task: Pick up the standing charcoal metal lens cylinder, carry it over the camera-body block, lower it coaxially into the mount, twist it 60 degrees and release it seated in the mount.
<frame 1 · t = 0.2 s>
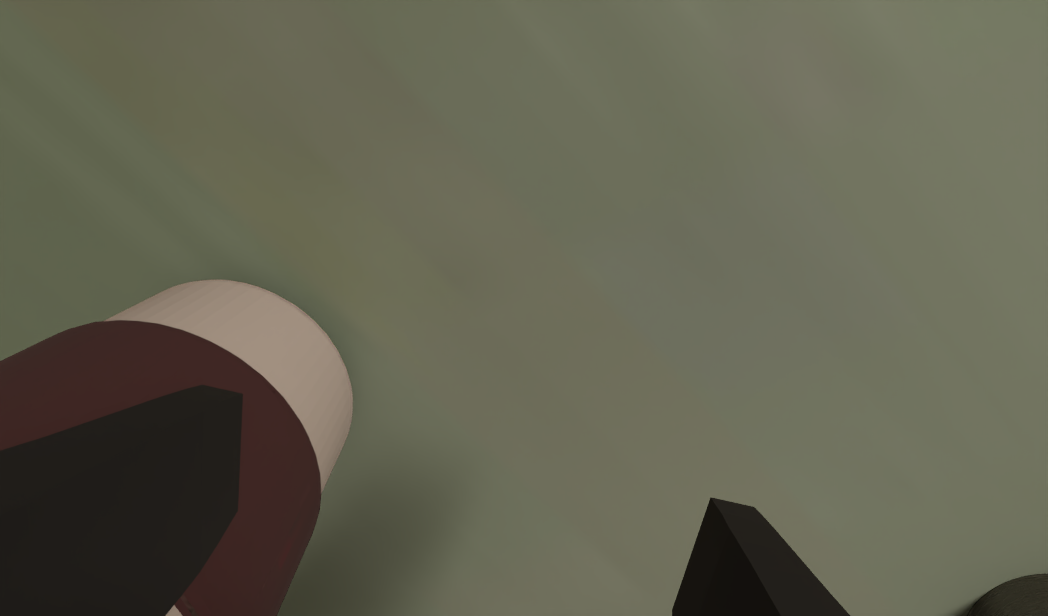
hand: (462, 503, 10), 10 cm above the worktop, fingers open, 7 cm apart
coffee cup: (248, 378, 21), on the worktop, touching gripper
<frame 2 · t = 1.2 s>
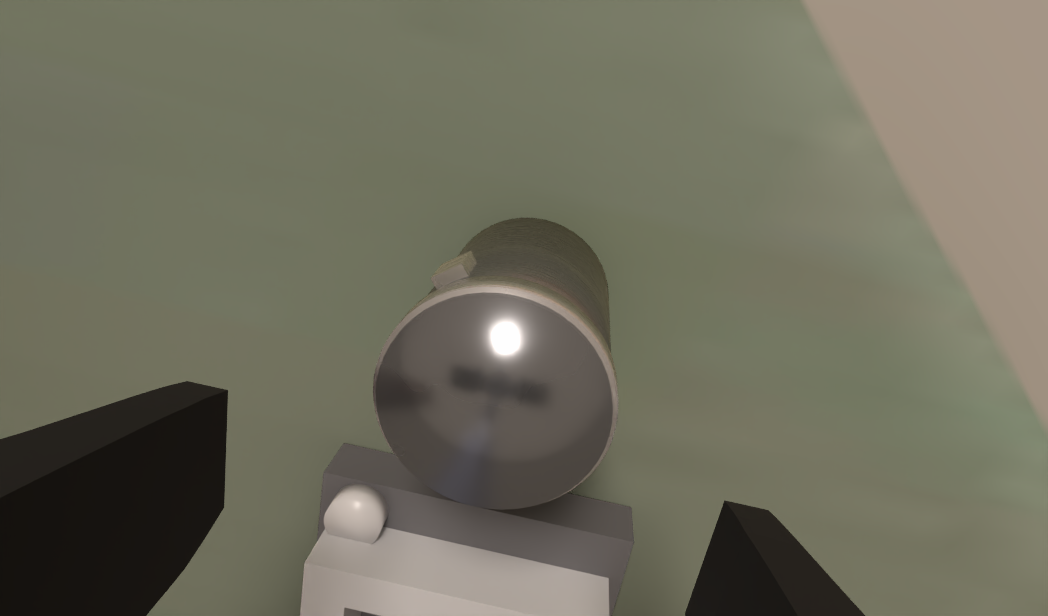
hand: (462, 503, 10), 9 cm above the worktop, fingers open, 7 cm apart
lens: (527, 296, 18), on the worktop
camera body: (459, 612, 22), on the worktop
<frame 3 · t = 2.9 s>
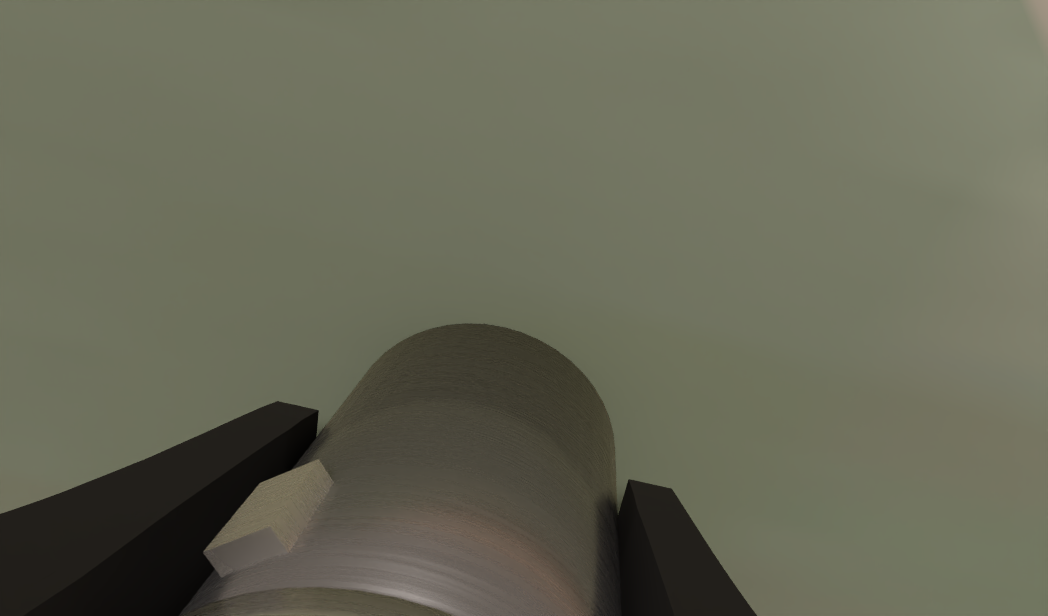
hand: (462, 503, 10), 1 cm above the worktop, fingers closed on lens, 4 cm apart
lens: (478, 449, 11), on the worktop, touching gripper
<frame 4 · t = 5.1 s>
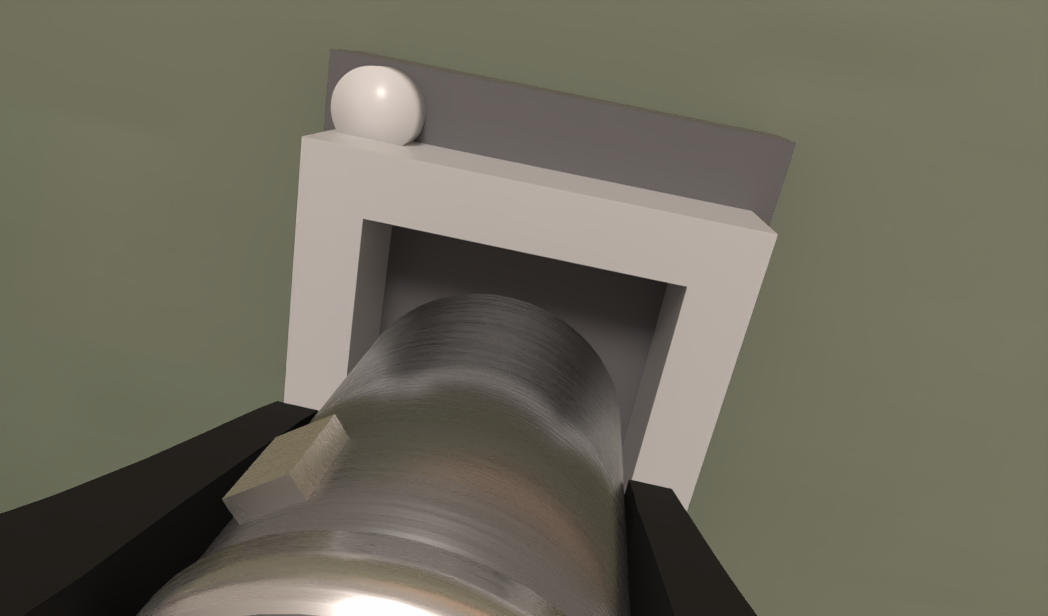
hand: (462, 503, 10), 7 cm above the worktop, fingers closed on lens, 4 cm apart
lens: (485, 420, 11), point 5 cm above the worktop, touching gripper
camera body: (517, 328, 16), on the worktop
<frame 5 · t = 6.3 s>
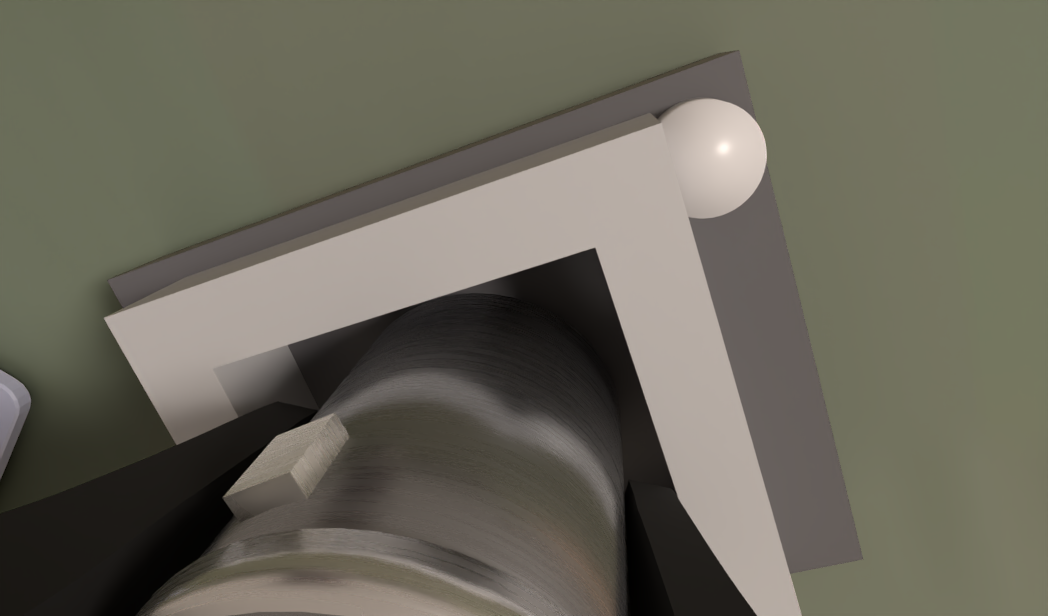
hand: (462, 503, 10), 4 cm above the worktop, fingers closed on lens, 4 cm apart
lens: (485, 419, 11), point 2 cm above the worktop, touching gripper
camera body: (501, 381, 13), on the worktop
when the fingers open (4 cm above the worktop, at t = 7.2 s): lens stays where it is, resting on camera body.
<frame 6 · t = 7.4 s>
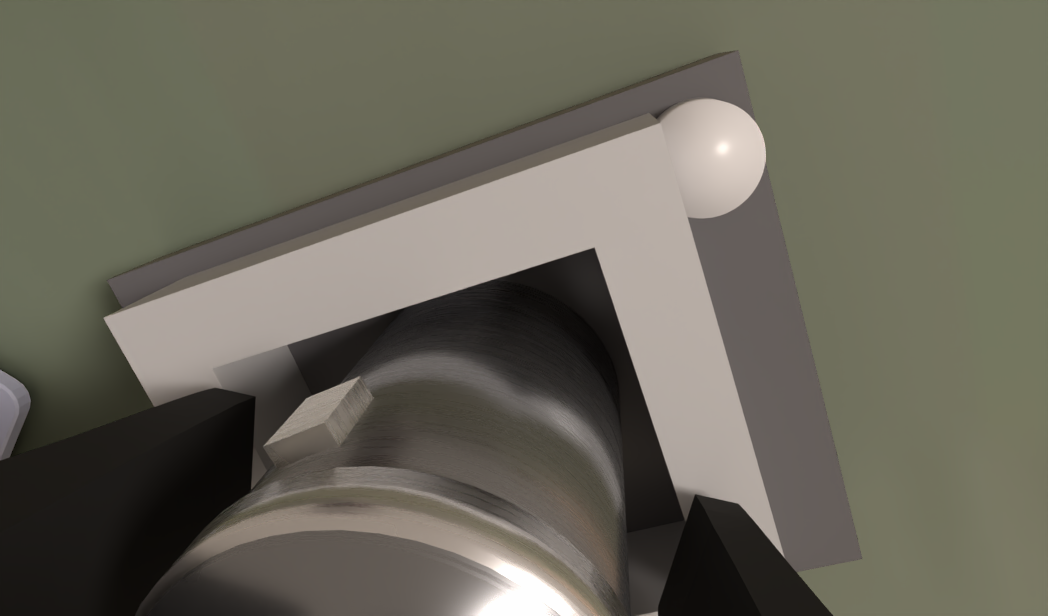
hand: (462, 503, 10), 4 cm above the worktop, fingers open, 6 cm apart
lens: (492, 400, 12), point 2 cm above the worktop, touching camera body
camera body: (501, 381, 13), on the worktop
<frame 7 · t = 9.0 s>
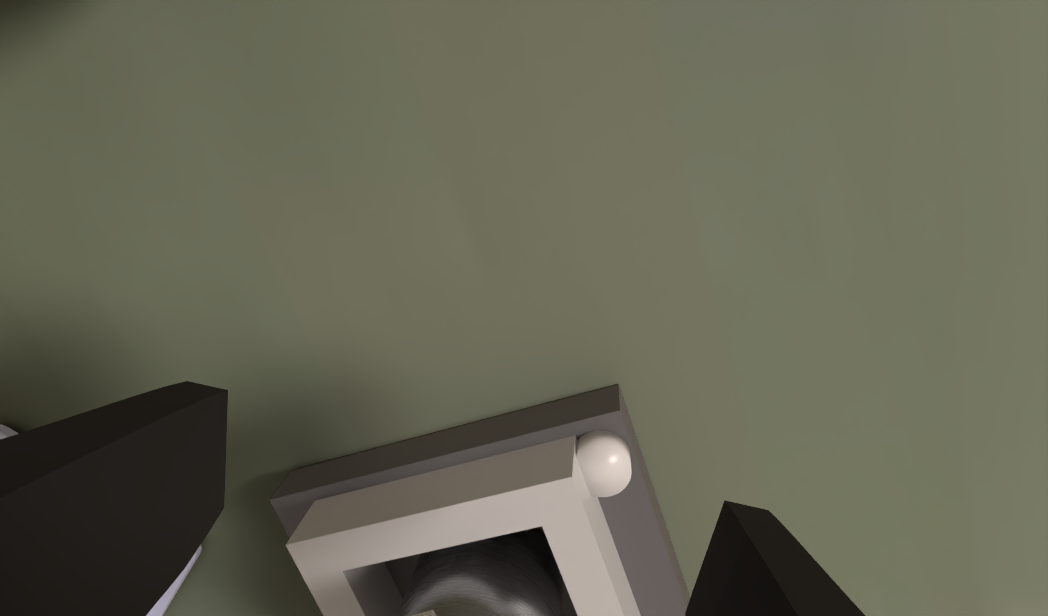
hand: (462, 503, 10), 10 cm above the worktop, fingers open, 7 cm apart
lens: (491, 570, 20), point 2 cm above the worktop, touching camera body
camera body: (496, 546, 22), on the worktop
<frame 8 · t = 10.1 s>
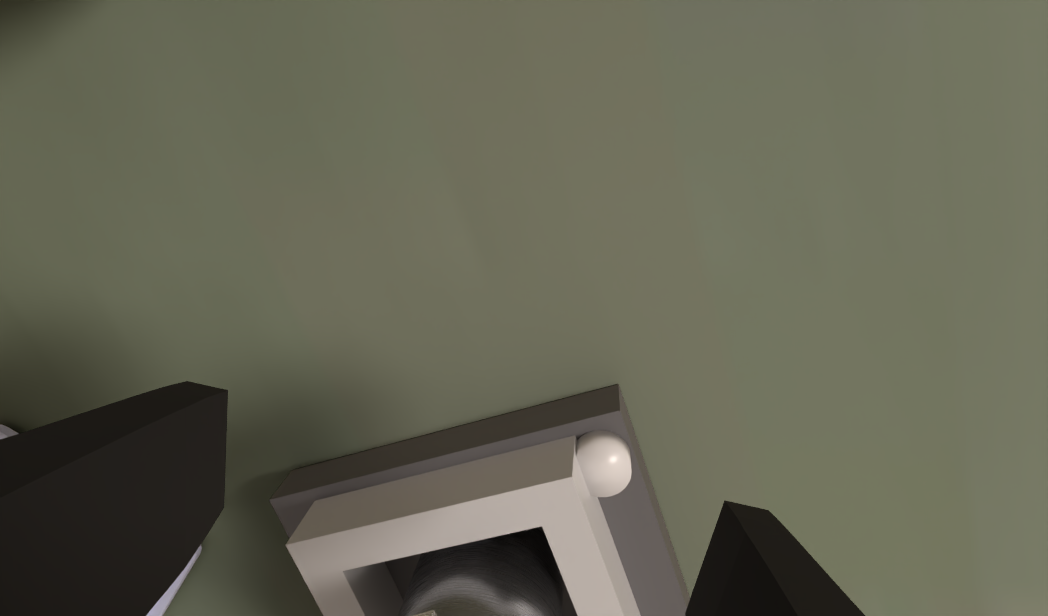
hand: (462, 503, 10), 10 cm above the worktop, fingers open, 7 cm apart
lens: (491, 570, 20), point 2 cm above the worktop, touching camera body
camera body: (496, 546, 22), on the worktop
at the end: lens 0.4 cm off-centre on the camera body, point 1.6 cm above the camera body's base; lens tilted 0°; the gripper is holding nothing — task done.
